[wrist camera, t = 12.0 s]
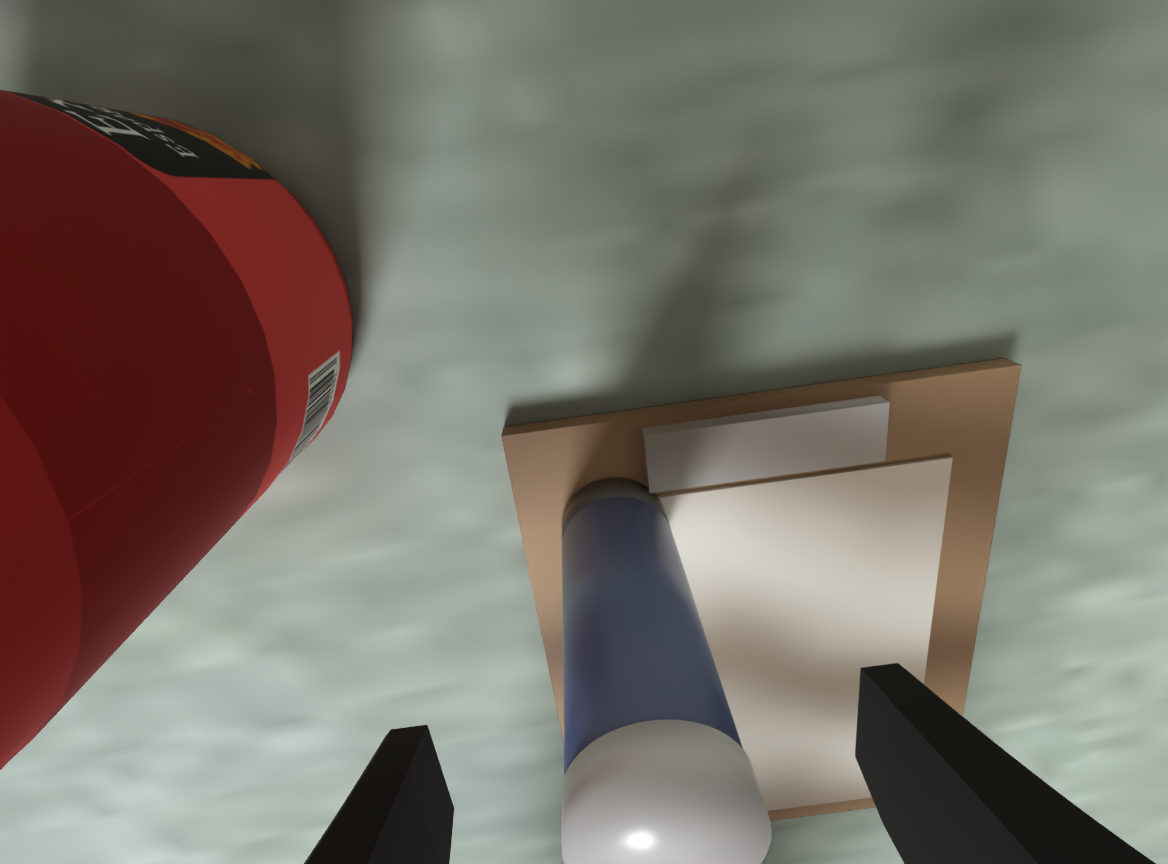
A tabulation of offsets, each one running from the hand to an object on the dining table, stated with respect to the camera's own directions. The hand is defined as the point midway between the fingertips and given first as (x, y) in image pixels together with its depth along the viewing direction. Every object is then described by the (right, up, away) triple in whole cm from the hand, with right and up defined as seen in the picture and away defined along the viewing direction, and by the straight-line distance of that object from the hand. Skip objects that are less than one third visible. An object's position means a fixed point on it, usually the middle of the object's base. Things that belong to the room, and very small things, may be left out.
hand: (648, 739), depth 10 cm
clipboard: (+4, -1, +9) cm, 10 cm away
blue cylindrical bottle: (0, +3, +6) cm, 7 cm away
